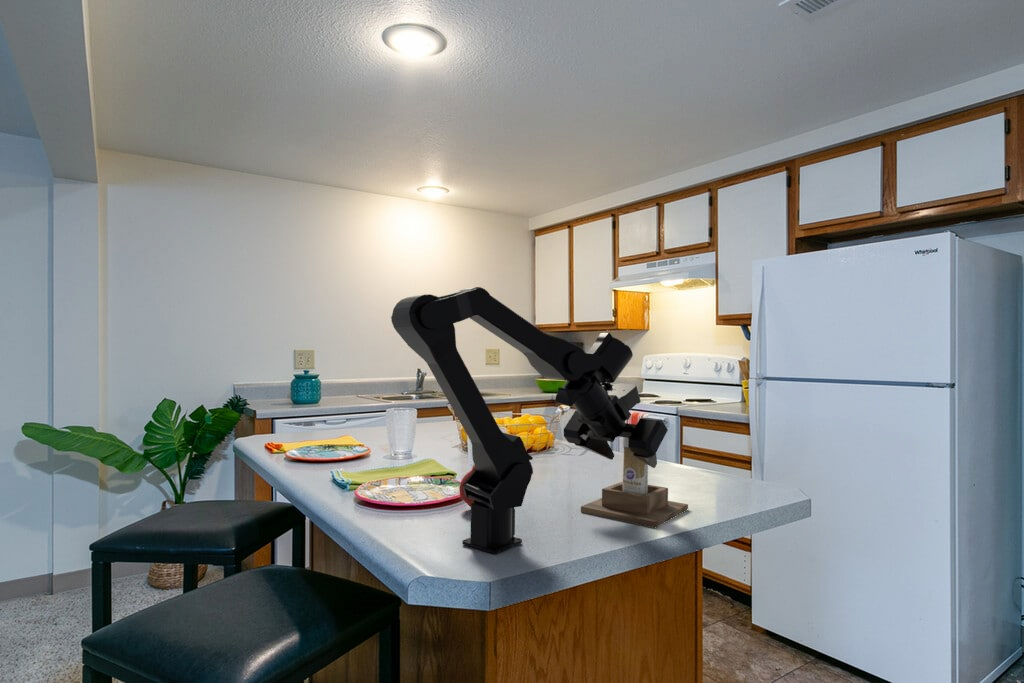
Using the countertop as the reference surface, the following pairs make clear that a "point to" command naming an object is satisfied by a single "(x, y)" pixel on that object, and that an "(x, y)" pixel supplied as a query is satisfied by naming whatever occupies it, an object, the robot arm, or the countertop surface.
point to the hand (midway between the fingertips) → (633, 461)
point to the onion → (462, 494)
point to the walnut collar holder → (635, 506)
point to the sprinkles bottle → (634, 472)
